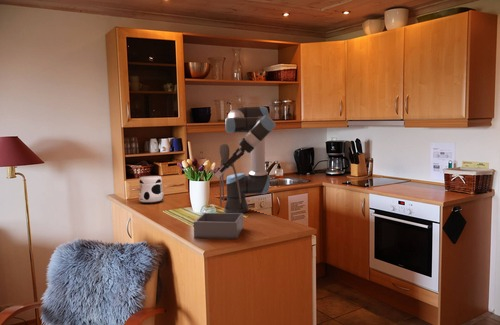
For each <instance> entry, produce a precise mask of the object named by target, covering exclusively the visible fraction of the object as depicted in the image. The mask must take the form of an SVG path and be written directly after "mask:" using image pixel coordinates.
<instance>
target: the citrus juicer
mask: <svg viewBox="0 0 500 325" xmlns="http://www.w3.org/2000/svg"><path fill="white" fill-rule="evenodd" d="M219 156H220V166H219V169H220V168H221V167H222V166H223V163H226V162H227V161H228V160H229V159H230V147H229V145H228V144H227V143H221V144H220V145H219ZM227 165H228V164H227ZM231 165H232V167H231V168H232V170H233V174H235V178H236V182H237V186H238V192H239V199H240V203H241V194H240V188H239V183H238V178H237V174H238V173H237V172H236V167H235V164H233V163H232V164H231ZM224 179H225V178H224V174H222V175H221V176H220V177H219V206H220V207H222V206H223V203H222V201H223V202H226V201H225V188H224V187H225V186H224V183H225V182H224Z"/></svg>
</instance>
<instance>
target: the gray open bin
mask: <svg viewBox="0 0 500 325" xmlns="http://www.w3.org/2000/svg"><path fill="white" fill-rule="evenodd" d="M243 230H244V213H226V212H203V213H202V214H200V215H199V217H197V218H196V219H195V220H194V221H193V239H210V240H211V239H217V240H218V239H220V240H221V239H222V240H238V238H239V237H240V235H241V233H242V231H243Z"/></svg>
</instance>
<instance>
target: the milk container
mask: <svg viewBox="0 0 500 325" xmlns="http://www.w3.org/2000/svg"><path fill="white" fill-rule="evenodd" d="M138 181H139V182H138V184H139V191H138V192H139V193H138V200H139V202H140V203H142V204H157V203H160V202H161V203H162V202H163V201H164V198H165V193H164V191H163V190H164V189H163V178H162V176H161V175H144V176H140V177H139V180H138Z"/></svg>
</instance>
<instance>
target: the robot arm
mask: <svg viewBox="0 0 500 325" xmlns="http://www.w3.org/2000/svg"><path fill="white" fill-rule="evenodd" d="M224 124H225V126H224V127H225V132H226V133H228V134H229V133H230V134H231V133H232V134H234V133H246V134H245V135H244V137H242V138H241V140H239V142H238V144H239V146H240V148H239V147H238V148H237V149H236V150H235V152H233V153H232V156H231V157H229V160H228V161H227V162H226V163H223V166H222V167H221V168H220V167H219V169H218V170H217V171H216V172H215V173H214V176H215V177H216V178H217V179H220V176H221V175H222V174H223V175H224V174H225V173H226V172H227V171H228V170H229V169H230V168H232V165H231V164H232V163H233V164H234V163H236V161H237V160H239V159H240V158H241V157H243V156H244V155H245V152H246V153H247V154H250V170H249V172H248V175H246V173H245V172H237V173H236V174H237V178H238V183H239V188H240V194H241V203H240V199H239V192H238V186H237V182H236V178H235V174H234V173H233V174H230V175H227V177H226V183H225V184H226V201H225V205H224V207H223V208H224V210H223V211H224V212H223V213H243V214H244V213H247V212H249V205H248V202H247V200H246V195H263V194H264V195H265V194H267V193H268V192H269V190H270V185H271V184H270V180H271V176H270V175H269V174H268V172H267V170H266V141H265V140H266V139H265V138H266V137H267V136H268V135H269V134H270V133H271V132H272V131H273V130H274V129H275V127H276V125H277V124H276V122H275V121H274V120H273V119H272V118H271V117H270V114H269V110H268V108H267V107H266V106H241V107H237V108H234V109H232V110H230V111H229V113H228V114H227V117H226V118H225V123H224ZM227 164H228V165H227ZM234 165H235V164H234ZM221 177H222V176H221Z"/></svg>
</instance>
